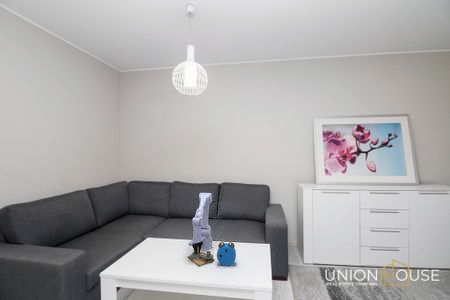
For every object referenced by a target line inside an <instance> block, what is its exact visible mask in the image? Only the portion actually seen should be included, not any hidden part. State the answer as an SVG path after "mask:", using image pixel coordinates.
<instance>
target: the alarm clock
mask: <svg viewBox="0 0 450 300" xmlns="http://www.w3.org/2000/svg"><path fill="white" fill-rule="evenodd" d="M217 246H218V248H217V253H216V259H217V261H218V262H219V264H220V265H222V266H225V267H227V266H231V265H233V264H234V263H235V261H236V258H237V252H236V248H235V247H236V245H235V244H234V242H232V241H231V242H228V243H227V242H224V241H221V242H219V243H218V245H217Z"/></svg>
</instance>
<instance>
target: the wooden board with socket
mask: <svg viewBox="0 0 450 300" xmlns="http://www.w3.org/2000/svg"><path fill="white" fill-rule="evenodd" d="M205 252H206V253H205ZM205 252H204V251H200V252H199V254H198V255H196V254H195V253H194V251H193V252H191V253H192V254H191V255H188V256H187V259H188V260H189V261H191V262H192V263H193V264H194V265H196V266H197V267H198V268H199V267H202V266H205V265H208V264H210V263H213V262H215V258H214V254H212V253H211V251H210V250H207V251H205Z"/></svg>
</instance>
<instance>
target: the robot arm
mask: <svg viewBox="0 0 450 300" xmlns="http://www.w3.org/2000/svg"><path fill="white" fill-rule="evenodd" d="M198 199H199V206H198V208H196V211H195V215H194V217H193V218H192V221H191V224H192V228H193V234H192V235H193V236H192V237H193V238H192V240H191V241H190V242H188V246H189V247H191V246H192V249H193V252H194V253H195V254H197V248H198V246H199V252H201V250H202V252H204V251H206V250H207V251H208V250H210V249H213V237H212V236H211V235H212V227H211V225H209V217H210V216H209V213H210V204H211V203H213V193H211V192H200V193H199V194H198Z"/></svg>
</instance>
